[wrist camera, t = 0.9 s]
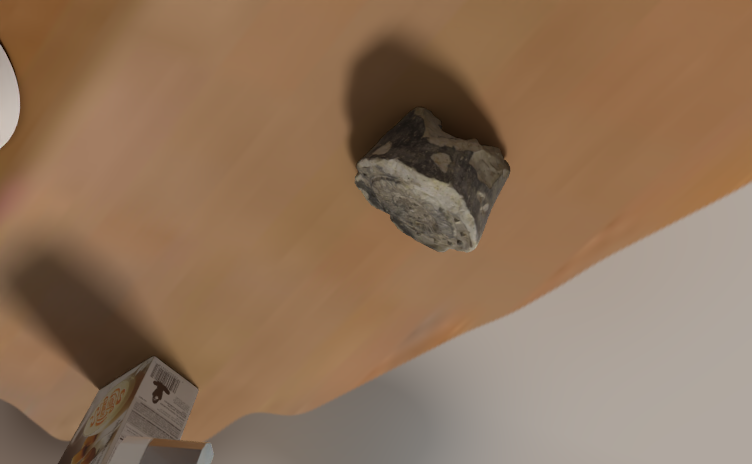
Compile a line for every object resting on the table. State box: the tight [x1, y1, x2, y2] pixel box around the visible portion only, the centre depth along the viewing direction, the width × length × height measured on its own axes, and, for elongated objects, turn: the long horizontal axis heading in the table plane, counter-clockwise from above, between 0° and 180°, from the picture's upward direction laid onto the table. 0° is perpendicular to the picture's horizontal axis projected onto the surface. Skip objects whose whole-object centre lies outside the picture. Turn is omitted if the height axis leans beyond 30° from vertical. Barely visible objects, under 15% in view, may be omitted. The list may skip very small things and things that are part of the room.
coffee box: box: [58, 356, 198, 464], centre depth 55 cm, size 9×6×16 cm
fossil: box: [355, 107, 510, 252], centre depth 44 cm, size 11×9×10 cm
